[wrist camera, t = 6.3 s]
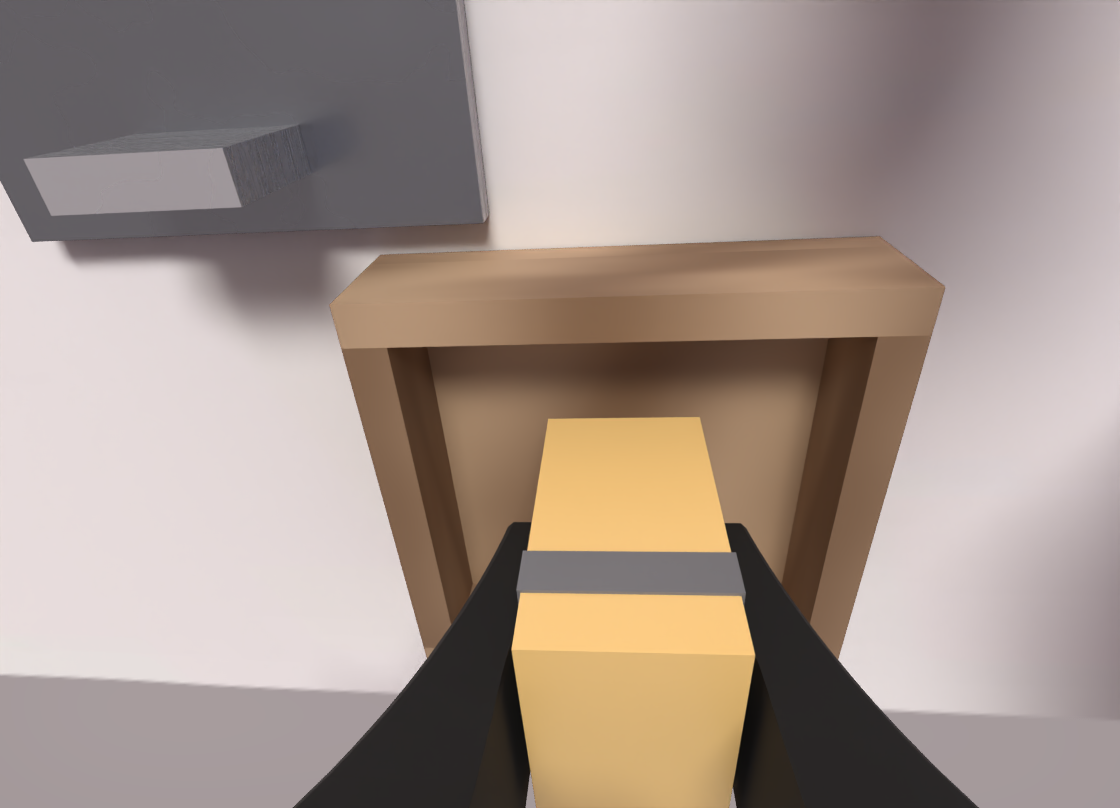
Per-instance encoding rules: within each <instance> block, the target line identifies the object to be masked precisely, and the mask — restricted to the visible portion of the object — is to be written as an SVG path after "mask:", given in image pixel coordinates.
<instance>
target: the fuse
mask: <svg viewBox="0 0 1120 808" xmlns="http://www.w3.org/2000/svg"><path fill="white" fill-rule="evenodd" d="M516 591H517V598H518V612H517V618H516V624H515V631H514V637H513V643H512V649H511V650H512V656H513V663H514V669H515V675H516V682H517V688H518V695H519V701H520V707H521V714H522V720H523V726H524V733H525V739H526V745H527V752H528V758H529V765H530V771H531V777H532V784H533V790H534V796H535V803H536V808H729V805H730V800H731V794H732V788H733V782H734V776H735V771H736V765H737V759H738V753H739V747H740V741H741V736H742V730H743V724H744V718H745V712H746V706H747V701H748V695H749V689H750V683H751V677H752V671H753V666H754V660H755V652H754V648H753V644H752V639H751V635H750V631H749V627H748V622H747V618H746V614H745V609H744V603H745V596H746V592H745V588H744V584H743V579H742V575H741V571H740V567H739V563H738V559H737V555H736V552H731V549H730V545H729V541H728V536H727V532H726V528H725V524H724V519H723V515H722V511H721V506H720V502H719V498H718V494H717V489H716V485H715V481H714V476H713V472H712V468H711V464H710V459H709V455H708V451H707V446H706V442H705V438H704V433H703V429H702V425H701V421H700V417H662V418H574V419H548V424H547V430H546V436H545V442H544V449H543V455H542V461H541V468H540V474H539V480H538V486H537V493H536V499H535V505H534V511H533V518H532V524H531V530H530V537H529V543H528V549H527V551H523V553H522V559H521V565H520V571H519V577H518V583H517V589H516Z"/></svg>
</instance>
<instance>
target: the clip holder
mask: <svg viewBox="0 0 1120 808" xmlns="http://www.w3.org/2000/svg"><path fill="white" fill-rule="evenodd" d="M0 181H1V183H2V185H3V187H4V189H5V191H6V193H7V194H8V196H9V198H10V200H11V202H12V204H13V206H14V208H15V210H16V212H17V214H18V216H19V217H20V219H21V221H22V223H23V225H24V227H25V229H26V231H27V233H28V235H29V237H30V239H31V241H32V242H39V241H63V240H87V239H112V238H136V237H160V236H184V235H209V234H233V233H257V232H281V231H306V230H330V229H354V228H379V227H403V226H427V225H451V224H476V223H484V222H485V220H486V219H487V217H488V216H489V210H488V201H487V193H486V185H485V176H484V168H483V159H482V151H481V142H480V134H479V126H478V117H477V109H476V100H475V92H474V84H473V75H472V67H471V58H470V50H469V41H468V33H467V25H466V16H465V8H464V0H0Z"/></svg>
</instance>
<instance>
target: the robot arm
mask: <svg viewBox="0 0 1120 808" xmlns="http://www.w3.org/2000/svg"><path fill="white" fill-rule="evenodd" d="M531 524H532V522H513V523H512V524H511V525H509V526H508V528H507V530H506V532H505V534H504V536H503V538H502V540H501V542H500V544H499V546H498V548H497V550H496V552H495V554H494V556H493V558H492V559H491V561H490V563H489V565H488V567H487V568H486V570H485V572H484V573H483V575H482V577H481V579H480V580H479V582H478V584H477V585H476V587H475V588H474V590H473V592H472V593H471V595H470V596H469V598H468V600H467V601H466V603H465V604H464V606H463V608H462V609H461V611H460V612H459V614H458V615H457V617H456V618H455V620H454V621H453V623H452V624H451V626H450V627H449V629H448V630H447V631H446V633H445V634H444V636H443V637H442V638H441V640H440V641H439V643H438V644H437V645H436V647H435V648H434V650H433V651H432V653H431V654H430V655H429V657H428V658H427V660H426V661H425V662H424V664H423V665H422V666H421V667H420V669H419V670H418V671H417V673H416V674H415V675H414V677H413V678H412V679H411V680H410V682H409V683H408V684H407V685H406V687H405V688H404V689H403V690H402V692H401V693H400V694H399V695H398V696H397V698H396V699H395V700H394V701H393V702H392V704H391V705H390V706H389V707H388V708H387V710H386V711H385V712H384V713H383V714H382V715H381V717H380V718H379V719H378V720H377V721H376V722H375V723H374V724H373V726H372V727H371V728H370V729H369V730H368V731H367V732H366V733H365V735H363V737H362V738H361V739H360V740H359V741H358V742H357V743H356V745H355V746H354V747H353V748H352V749H351V750H350V751H349V752H348V753H347V754H346V755H345V756H344V757H343V758H342V759H341V760H340V762H339V763H338V764H337V765H336V766H335V767H334V768H333V769H332V770H331V771H330V772H329V773H328V774H327V775H326V776H325V777H324V778H323V779H322V780H321V781H320V782H319V783H318V784H317V785H316V786H315V787H313V789H312V790H310V791H309V792H308V793H307V794H306V795H305V796H304V797H303V798H302V799H301V800H300V801H299V802H298V803H297V804H296V805H295V806H294V807H293V808H525V806H526V798H527V791H528V783H529V776H530V765H529V758H528V752H527V745H526V739H525V733H524V726H523V720H522V714H521V707H520V701H519V695H518V688H517V682H516V675H515V669H514V663H513V656H512V650H511V649H512V643H513V637H514V631H515V624H516V618H517V612H518V598H517V591H516V589H517V583H518V577H519V571H520V565H521V559H522V553H523V551H527V549H528V543H529V537H530V530H531ZM724 524H725V528H726V532H727V536H728V541H729V545H730V549H731V552H736V555H737V559H738V563H739V567H740V571H741V575H742V579H743V584H744V588H745V592H746V596H745V603H744V609H745V614H746V618H747V622H748V627H749V631H750V635H751V639H752V644H753V648H754V652H755V660H754V666H753V671H752V677H751V683H750V689H749V695H748V701H747V706H746V712H745V718H744V724H743V730H742V736H741V741H740V747H739V753H738V759H737V765H736V771H735V776H734V782H733V789H734V794H735V801H736V806H737V808H979V807H977V806H976V805H975V804H974V803H973V802H972V801H971V800H970V799H969V798H968V797H967V796H966V795H965V794H964V793H962V792H961V791H960V790H959V789H958V788H957V787H956V786H955V785H954V784H953V783H952V782H951V781H950V780H949V779H948V778H947V777H945V776H944V775H943V774H942V773H941V772H940V771H939V770H938V769H937V768H936V767H935V766H934V765H933V764H932V763H931V762H930V761H929V760H928V759H927V758H926V757H925V756H924V755H923V754H922V753H921V752H920V751H919V750H918V749H917V747H916V746H915V745H914V744H912V742H911V741H910V740H909V739H908V738H907V737H906V736H905V735H904V734H903V733H902V732H901V731H900V730H899V729H898V728H897V727H896V726H895V725H894V724H893V722H892V721H891V720H890V719H889V718H888V717H887V716H886V715H885V714H884V713H883V712H882V710H881V709H880V708H879V707H878V706H877V705H876V704H875V703H874V702H873V701H872V699H871V698H870V697H869V696H868V695H867V694H866V693H865V691H864V690H863V689H862V688H861V687H860V686H859V684H858V683H857V682H856V681H855V680H854V679H853V677H852V676H851V675H850V674H849V673H848V671H847V670H846V669H845V668H844V667H843V665H842V664H841V663H840V662H839V660H838V659H837V658H836V657H835V656H834V654H833V653H832V652H831V651H830V649H829V648H828V647H827V646H826V644H825V643H824V642H823V640H822V639H821V638H820V637H819V635H818V634H817V633H816V631H815V630H814V629H813V627H812V626H811V625H810V623H809V622H808V621H807V619H806V618H805V617H804V615H803V614H802V613H801V611H800V610H799V608H798V607H797V606H796V604H795V603H794V602H793V600H792V599H791V597H790V596H789V595H788V593H787V592H786V590H785V589H784V587H783V586H782V584H781V583H780V582H779V580H778V578H777V577H776V575H775V574H774V572H773V571H772V569H771V568H770V566H769V565H768V563H767V562H766V560H765V559H764V557H763V555H762V554H761V552H760V551H759V549H758V547H757V546H756V544H755V542H754V541H753V539H752V537H751V536H750V534H749V532H748V530H747V528H746V527H744V526H743V525H742V524H741V523H724Z"/></svg>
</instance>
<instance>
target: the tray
mask: <svg viewBox="0 0 1120 808" xmlns="http://www.w3.org/2000/svg"><path fill="white" fill-rule="evenodd" d="M944 290H945V286H944V285H942V284H941V283H940V282H939V281H937V280H936V279H935V278H933V277H932V276H931V275H929V274H928V273H927V272H926V271H924V270H923V269H922V268H920V267H919V266H918V265H916V264H915V263H914V262H913V261H911V260H910V259H909V258H907V257H906V256H905V255H903V254H902V253H901V252H900V251H898V250H897V249H896V248H894V247H893V246H892V245H890V244H889V243H888V242H887V241H885V240H884V239H883V238H881V237H880V236H876V237H849V238H822V239H795V240H768V241H741V242H714V243H686V244H659V245H632V246H605V247H578V248H551V249H524V250H497V251H470V252H443V253H416V254H389V255H380V256H379V257H378V258H377V259H376V260H375V261H374V262H373V263H372V264H370V265H369V266H368V267H367V268H366V269H365V270H364V271H363V272H362V273H361V274H360V275H359V276H358V277H357V278H356V279H355V280H354V281H353V282H352V283H351V284H350V285H349V286H348V287H347V288H346V289H345V290H344V291H343V292H342V293H341V294H340V295H339V296H338V297H337V298H336V299H335V300H334V301H333V302H332V303H331V304H330V305H329V306H330V309H331V313H332V317H333V320H334V324H335V327H336V331H337V335H338V338H339V342H340V345H341V349H342V353H343V356H344V360H345V364H346V367H347V371H348V374H349V378H350V382H351V385H352V389H353V392H354V396H355V400H356V403H357V407H358V411H359V414H360V418H361V421H362V425H363V429H364V432H365V436H366V440H367V443H368V447H369V450H370V454H371V458H372V461H373V465H374V468H375V472H376V476H377V479H378V483H379V487H380V490H381V494H382V497H383V501H384V505H385V508H386V512H387V515H388V519H389V523H390V526H391V530H392V534H393V537H394V541H395V544H396V548H397V552H398V555H399V559H400V562H401V566H402V570H403V573H404V577H405V581H406V584H407V588H408V591H409V595H410V599H411V602H412V606H413V609H414V613H415V617H416V620H417V624H418V628H419V631H420V635H421V638H422V642H423V646H424V649H425V653H426V656H427V658H428V657H429V655H430V654H431V653H432V651H433V650H434V648H435V647H436V645H437V644H438V643H439V641H440V640H441V638H442V637H443V636H444V634H445V633H446V631H447V630H448V629H449V627H450V626H451V624H452V623H453V621H454V620H455V618H456V617H457V615H458V614H459V612H460V611H461V609H462V608H463V606H464V604H465V603H466V601H467V600H468V598H469V596H470V595H471V593H472V592H473V590H474V588H475V587H476V585H477V584H478V582H479V580H480V579H481V577H482V575H483V573H484V572H485V570H486V568H487V567H488V565H489V563H490V561H491V559H492V558H493V556H494V554H495V552H496V550H497V548H498V546H499V544H500V542H501V540H502V538H503V536H504V534H505V532H506V530H507V528H508V526H509V525H511V524H512V523H513V522H532V518H533V511H534V505H535V499H536V493H537V486H538V480H539V474H540V468H541V461H542V455H543V449H544V442H545V436H546V430H547V424H548V419H574V418H662V417H700V421H701V425H702V429H703V433H704V438H705V442H706V446H707V451H708V455H709V459H710V464H711V468H712V472H713V476H714V481H715V485H716V489H717V494H718V498H719V502H720V506H721V511H722V515H723V519H724V523H741V524H742V525H743V526H744V527H746V528H747V530H748V532H749V534H750V536H751V537H752V539H753V541H754V542H755V544H756V546H757V547H758V549H759V551H760V552H761V554H762V555H763V557H764V559H765V560H766V562H767V563H768V565H769V566H770V568H771V569H772V571H773V572H774V574H775V575H776V577H777V578H778V580H779V582H780V583H781V584H782V586H783V587H784V589H785V590H786V592H787V593H788V595H789V596H790V597H791V599H792V600H793V602H794V603H795V604H796V606H797V607H798V608H799V610H800V611H801V613H802V614H803V615H804V617H805V618H806V619H807V621H808V622H809V623H810V625H811V626H812V627H813V629H814V630H815V631H816V633H817V634H818V635H819V637H820V638H821V639H822V640H823V642H824V643H825V644H826V646H827V647H828V648H829V649H830V651H831V652H832V653H833V654H834V656H835V657H836V658H837V659H838V658H839V655H840V651H841V648H842V644H843V641H844V637H845V634H846V630H847V627H848V623H849V620H850V616H851V613H852V609H853V606H854V603H855V599H856V596H857V592H858V589H859V585H860V582H861V578H862V575H863V571H864V568H865V564H866V561H867V557H868V554H869V551H870V547H871V544H872V540H873V537H874V533H875V530H876V526H877V523H878V519H879V516H880V512H881V509H882V505H883V502H884V498H885V495H886V492H887V488H888V485H889V481H890V478H891V474H892V471H893V467H894V464H895V460H896V457H897V453H898V450H899V446H900V443H901V440H902V436H903V433H904V429H905V426H906V422H907V419H908V415H909V412H910V408H911V405H912V401H913V398H914V394H915V391H916V388H917V384H918V381H919V377H920V374H921V370H922V367H923V363H924V360H925V356H926V353H927V349H928V346H929V342H930V339H931V336H932V332H933V329H934V325H935V322H936V318H937V315H938V311H939V308H940V304H941V301H942V297H943V294H944Z"/></svg>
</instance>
